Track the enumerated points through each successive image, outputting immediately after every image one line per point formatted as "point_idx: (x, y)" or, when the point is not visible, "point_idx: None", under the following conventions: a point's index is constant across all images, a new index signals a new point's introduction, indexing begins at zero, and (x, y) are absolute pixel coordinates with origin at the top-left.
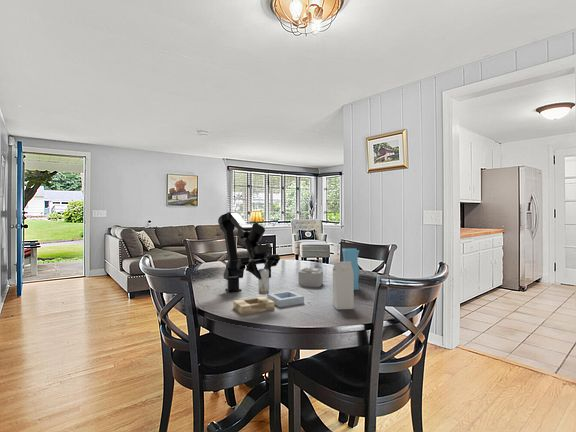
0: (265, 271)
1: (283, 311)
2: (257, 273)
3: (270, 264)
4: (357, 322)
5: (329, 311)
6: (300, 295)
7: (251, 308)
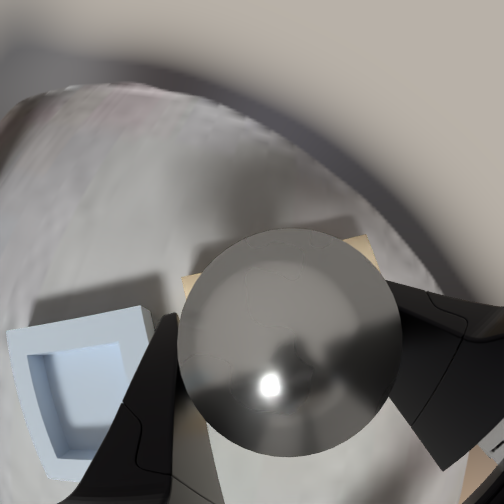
0: (275, 235)
1: (152, 239)
2: (388, 281)
3: (88, 501)
4: (27, 105)
5: (9, 193)
6: (14, 355)
7: None
